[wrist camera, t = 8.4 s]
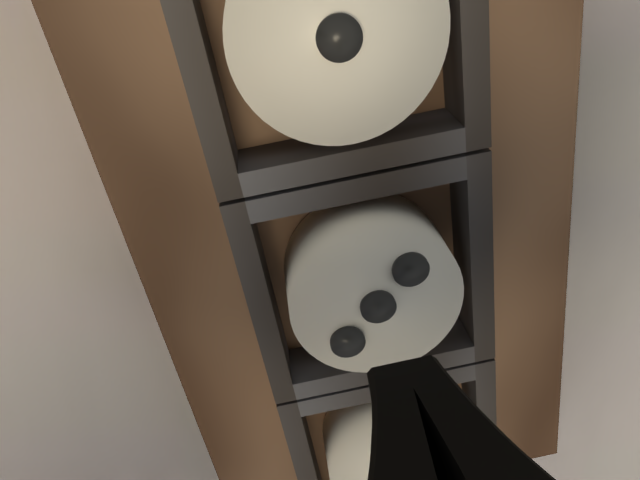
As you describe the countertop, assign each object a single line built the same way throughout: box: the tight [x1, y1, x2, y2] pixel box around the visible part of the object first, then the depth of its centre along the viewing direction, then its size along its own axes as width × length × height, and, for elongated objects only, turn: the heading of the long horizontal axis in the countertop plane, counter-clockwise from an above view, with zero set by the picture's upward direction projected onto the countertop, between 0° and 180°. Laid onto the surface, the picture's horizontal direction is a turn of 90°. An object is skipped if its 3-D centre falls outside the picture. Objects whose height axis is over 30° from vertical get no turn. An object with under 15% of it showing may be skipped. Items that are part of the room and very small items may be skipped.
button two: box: [322, 402, 372, 480], centre depth 19 cm, size 4×4×2 cm
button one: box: [222, 0, 450, 146], centre depth 12 cm, size 4×4×2 cm
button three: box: [284, 194, 464, 373], centre depth 15 cm, size 4×4×2 cm
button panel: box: [31, 0, 584, 480], centre depth 17 cm, size 12×20×4 cm, turn 9°
